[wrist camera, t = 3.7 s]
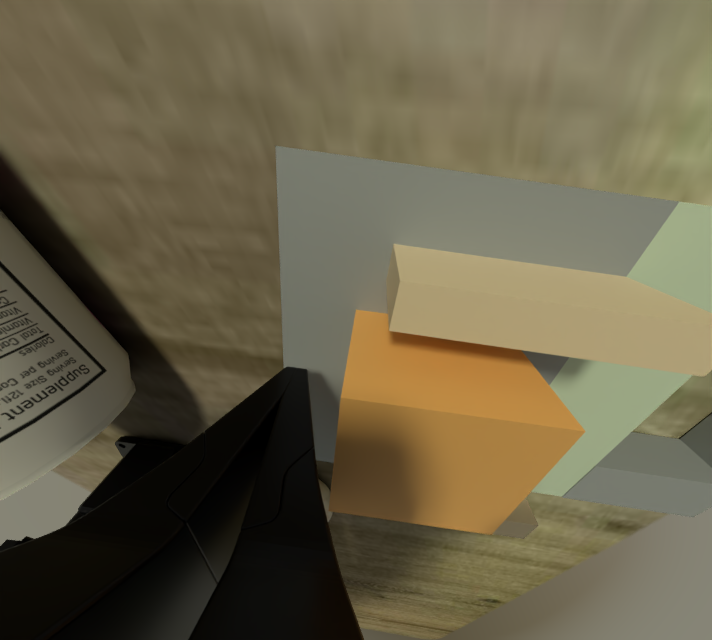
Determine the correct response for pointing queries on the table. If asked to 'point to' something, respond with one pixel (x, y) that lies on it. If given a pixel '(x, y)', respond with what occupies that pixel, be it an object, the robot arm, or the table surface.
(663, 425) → the table surface
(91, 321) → the supplement can
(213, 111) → the table surface
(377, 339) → the block
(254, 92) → the table surface
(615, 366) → the tunnel board
